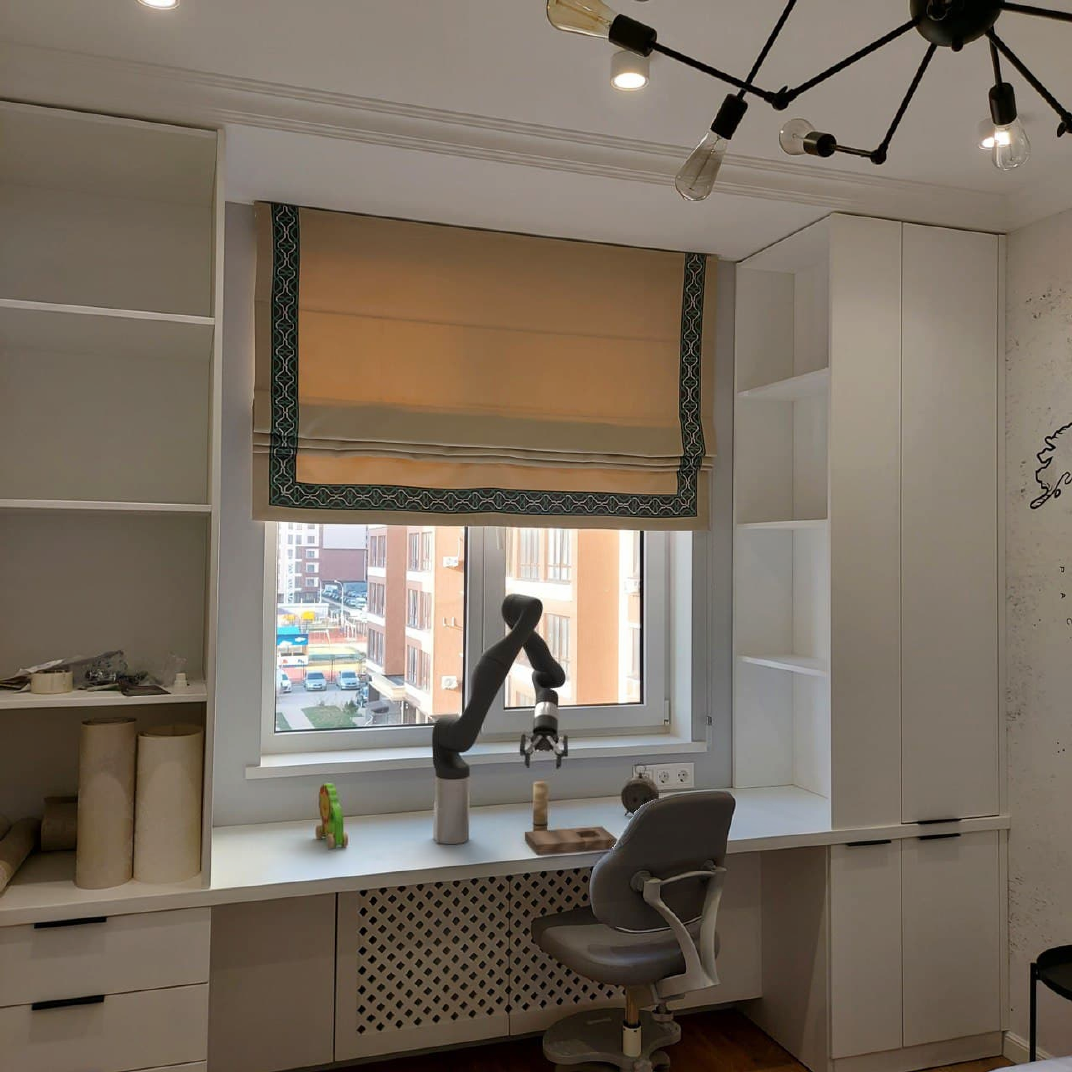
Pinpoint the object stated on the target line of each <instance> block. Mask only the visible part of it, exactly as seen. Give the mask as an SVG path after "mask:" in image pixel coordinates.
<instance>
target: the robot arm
mask: <svg viewBox="0 0 1072 1072" xmlns="http://www.w3.org/2000/svg"><path fill="white" fill-rule="evenodd" d="M500 610H501V612H500V613H501V617H502V619H503V621H504V623H505V624H506V625H507V627H509V630H510V631H509V632H508V634H506V635H505V636H503V637H502V638H501V639H499V640H498V641H496V642H495V643H493V644H492V645H490V646H489V647H488V648H486V649H485V650H484V651H483V652H482V654H481V655H480V657H479V658H478V660H477V661H476V663H475V665H474V667H473V669H472V672H471V675H470V698H469V701H468V703H467V705H466V707H465V709H464V711H463V712H462V714H461V715H460V716H459V717H458V716H453V715H443V716H440V717H439V718H438V719H437V720H436V721H435V723H434V724H433V728H432V735H431V741H432V742H431V745H432V746H431V747H432V764H433V767H434V770H435V795H434V796H435V801H434V802H433V832H432V833H433V839H434V840H435V842H436V844H444V845H457V844H458V845H459V844H464V843H466V842H468V841H469V840H470V777H471V776H470V765H469V764H468V763H467V762H466V761H465V760H464V759H463V758H462V757H461V755H460V754H461V753H466V752H467V751H469V750H470V749H471V748H472V747H473V746H474V744H475V742H476V741H477V738H478V736H479V734H480V731H481V730H482V727H483V724H484V723H485V719H486V717H487V715H488V712H489V711H490V708H491V706H492V704H493V702H494V701H495V698H496V696H497V694H498V692H499V691H500V689H501V687H502V685H503V683H504V682H505V680H506V678H507V677H508V674H509V673H510V670H511V668H512V666H513V665H514V662H515V661H516V659H517V657H518V656H519V653H520V652H521V650H522V648H523V650H524V652H525V655H526V657H527V659H528V662H529V664H530V666H531V668H532V670H533V671H532V673H531V681H532V685H533V690H534V692H535V693H534V694H535V703H534V704H535V707H534V712H533V721H532V734H531V736H529V735H528V736H527V735H526V734H525V733H524V734H521V736H520V737H521V738H520V743H519V744H520V745H519V755H520V756H524V765H525V767H526V768H527V769H530V767H531V756H532V755H533V754H535V753H536V752H537V751H539V752H544V751H545V752H552V753H553V754H554V755H555V756H556V762H555V763H556V764H555V765H556V767H555V769H557V770H559V769H560V768H561V767H562V759H563V758H564V757H565V758H567V757H568V756H569V745H568V743H569V742H568V735H566V734H564V735H563V736H558V731H559V728H558V727H559V694H558V692H557V691H555V690H554V689H558V688H561V687H563V686H564V684H565V683H566V678H567V677H566V673H565V671H564V668H563V667H562V665H560V663H559V662H558V661H557V660H556V659H555V658H554V657H553V656H552V653H551V651H550V648H549V646H548V644H547V642H546V640H544V638H543V637H542V636H541V635H540V634H539V633H538V632H537V631H536V630H535V629H536V627H537V626H538V623H539V622H540V620H541V617H542V616H543V612H544V606H543V603H542V601H541V600H540V599H539V598H538V597H534V596H531V595H530V596H529V595H526V594H520V593H509V594H507V595H506V596H505V597H504V598H503V600H502V603H501V608H500ZM529 742H530V743H531V744H529V747H527V749H526V745H527V744H528V743H529ZM559 742H560V744H561V745H562V746H563V750H561V749H560V748H559V747H558V744H559ZM463 842H464V843H463Z"/></svg>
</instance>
